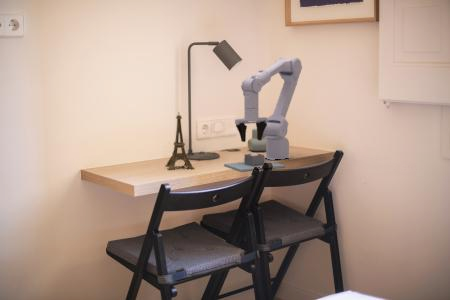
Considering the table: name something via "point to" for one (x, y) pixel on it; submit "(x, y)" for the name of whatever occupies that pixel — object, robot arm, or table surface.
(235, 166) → the piston stand
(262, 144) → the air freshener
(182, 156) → the eiffel tower
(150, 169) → the table surface
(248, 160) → the dark grey square block
